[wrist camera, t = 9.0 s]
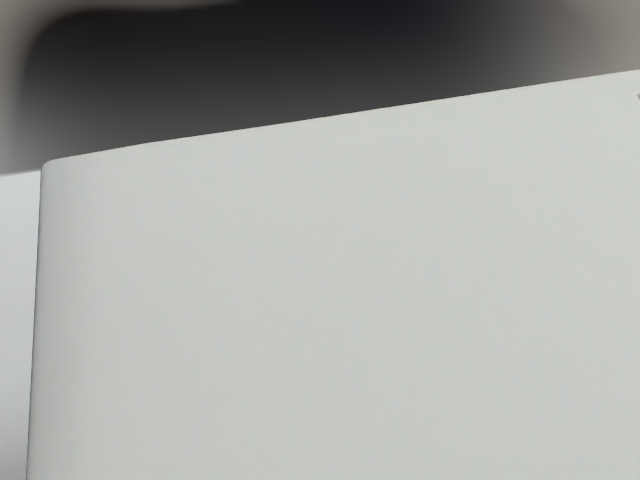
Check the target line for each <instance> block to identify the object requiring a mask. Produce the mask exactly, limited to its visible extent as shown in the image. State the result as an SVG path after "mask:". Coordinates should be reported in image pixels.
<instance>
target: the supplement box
mask: <svg viewBox="0 0 640 480" xmlns="http://www.w3.org/2000/svg"><path fill="white" fill-rule="evenodd" d="M26 480H640V70H634V71H626V72H620V73H613V74H606V75H599V76H592V77H585V78H579V79H571V80H565V81H558V82H552V83H545V84H539V85H532V86H526V87H519V88H513V89H506V90H500V91H493V92H487V93H481V94H474V95H468V96H461V97H454V98H448V99H441V100H435V101H428V102H421V103H415V104H409V105H402V106H396V107H389V108H382V109H376V110H369V111H363V112H356V113H350V114H343V115H337V116H329V117H323V118H316V119H310V120H303V121H297V122H290V123H283V124H277V125H270V126H263V127H256V128H249V129H243V130H236V131H229V132H222V133H216V134H208V135H201V136H195V137H187V138H180V139H174V140H167V141H159V142H153V143H145V144H140V145H134V146H128V147H123V148H117V149H112V150H106V151H101V152H95V153H90V154H84V155H78V156H73V157H67V158H61V159H55V160H51V161H49V162H47V163H45V164H44V165H43V167H42V169H41V182H40V206H39V226H38V247H37V268H36V289H35V309H34V330H33V350H32V369H31V389H30V409H29V429H28V449H27V469H26Z"/></svg>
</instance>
